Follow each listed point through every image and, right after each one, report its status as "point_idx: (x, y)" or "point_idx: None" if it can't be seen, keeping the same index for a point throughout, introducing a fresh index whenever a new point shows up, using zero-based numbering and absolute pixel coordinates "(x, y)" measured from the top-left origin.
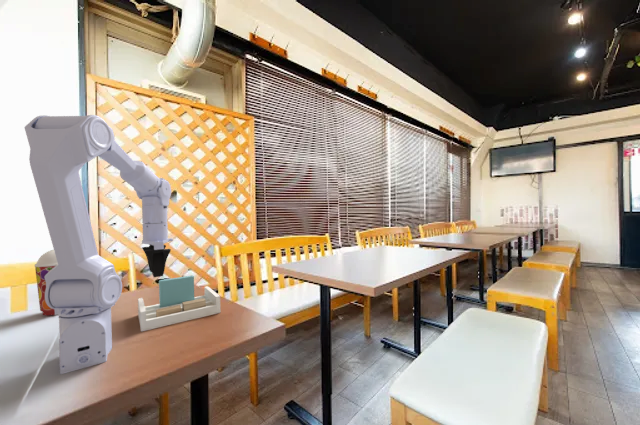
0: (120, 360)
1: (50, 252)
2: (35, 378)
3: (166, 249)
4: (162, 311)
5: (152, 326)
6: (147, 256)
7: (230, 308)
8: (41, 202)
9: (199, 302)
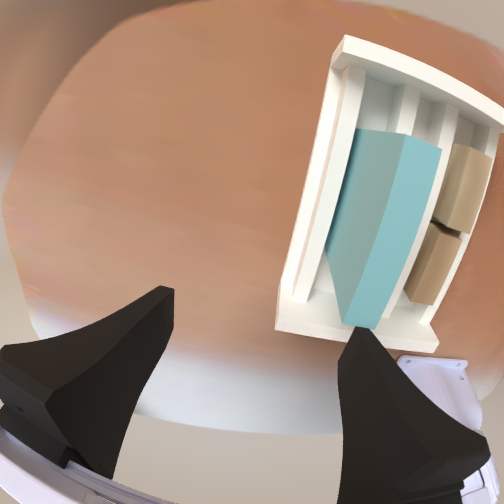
0: (467, 351)
1: None
2: None
3: (451, 475)
4: (438, 291)
5: None
6: (127, 417)
7: (450, 54)
8: None
9: (484, 179)
